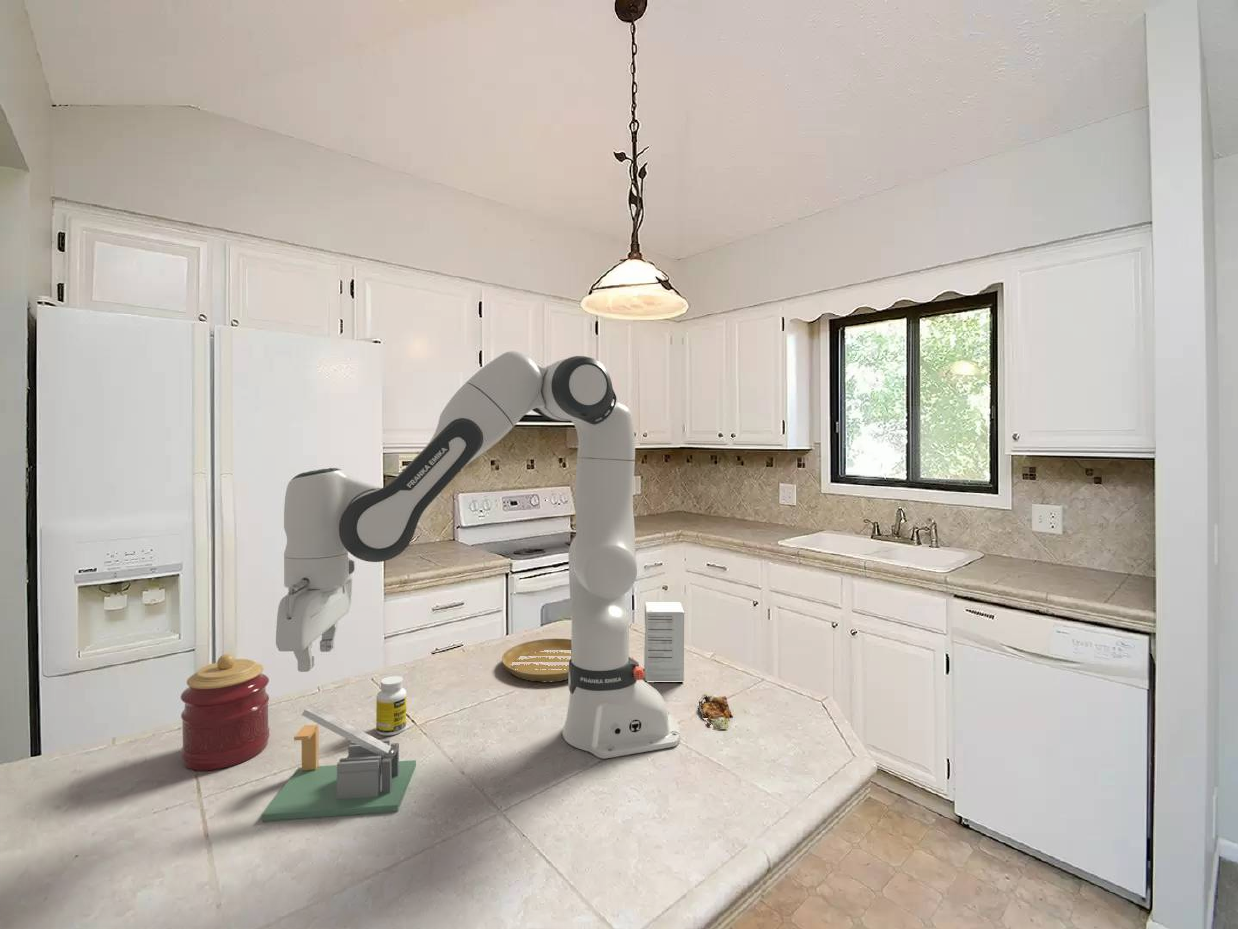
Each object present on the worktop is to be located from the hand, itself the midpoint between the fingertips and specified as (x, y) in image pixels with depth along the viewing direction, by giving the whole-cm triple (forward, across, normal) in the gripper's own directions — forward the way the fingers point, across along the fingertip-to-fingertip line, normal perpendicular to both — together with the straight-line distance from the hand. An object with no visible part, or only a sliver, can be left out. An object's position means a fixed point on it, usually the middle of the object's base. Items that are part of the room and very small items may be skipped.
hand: (317, 659), depth 89 cm
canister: (+22, +15, +21) cm, 34 cm away
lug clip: (+20, +4, +3) cm, 21 cm away
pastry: (+22, +18, -71) cm, 76 cm away
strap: (+13, 0, -5) cm, 13 cm away
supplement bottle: (+22, +20, -6) cm, 30 cm away
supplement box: (+21, +40, -64) cm, 79 cm away
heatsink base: (+21, 0, -4) cm, 22 cm away
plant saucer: (+22, +49, -37) cm, 65 cm away
